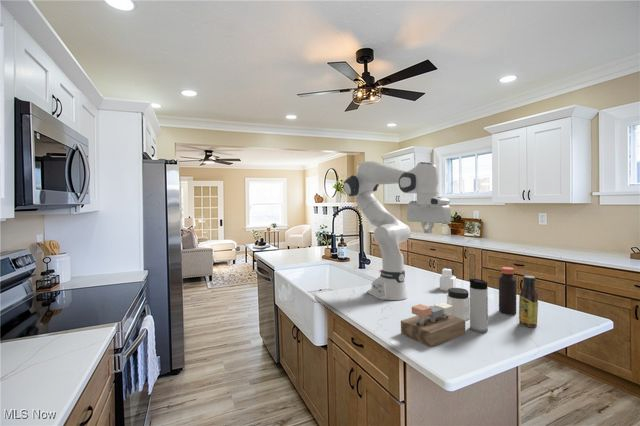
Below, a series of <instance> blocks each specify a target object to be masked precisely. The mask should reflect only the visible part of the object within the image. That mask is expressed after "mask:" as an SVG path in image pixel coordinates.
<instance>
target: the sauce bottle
mask: <svg viewBox="0 0 640 426" xmlns="http://www.w3.org/2000/svg"><path fill="white" fill-rule="evenodd" d="M522 278H523V279H522V280H523V286H522V288H521V291H520V293H519V296H518V297H519V298H518V299H519V301H518V304H519V305H518V322H519V324H520V325H521V326H524V327H526V328H536V327H537V326H538V311H539V310H538V309H539V308H538V307H539V301H538V300H539V294H538V292H537V290H536V287H535V285H536V283H535V282H536V277H535V276H533V275H527V274H526V275H523V276H522Z"/></svg>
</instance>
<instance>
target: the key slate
mask: <svg viewBox="0 0 640 426" xmlns="http://www.w3.org/2000/svg"><path fill="white" fill-rule="evenodd" d="M428 307H431V308H432V314H431V315H428V317H430V321H431V322H435V318H437V317H440V316H443V309H440V308H437V307H434V305H429V306H428Z"/></svg>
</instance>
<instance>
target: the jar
mask: <svg viewBox="0 0 640 426" xmlns="http://www.w3.org/2000/svg"><path fill="white" fill-rule="evenodd" d="M446 304H449V305H452V306H453V312H452V313H449V314H448V315H451V316H454V317H457V318H460V319H463V320H465V322H466V321H468V320H470V292H469V290H468V289H465V288H461V287H456V288H449V289H448V291H447V295H446Z"/></svg>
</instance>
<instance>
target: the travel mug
mask: <svg viewBox="0 0 640 426" xmlns="http://www.w3.org/2000/svg"><path fill="white" fill-rule="evenodd" d="M468 281H469V298H470V319H469V329H470V330H471V331H473V332H476V333H479V334H480V333H487V332H488V331H489V328H488V327H489V326H488V325H489V323H488V322H489V317H488V316H489V313H488V312H489V311H488V310H489V308H488V307H489V306H488V305H489V303H488V302H489V299H488V298H489V296H488V295H489V293H488V290H489V289H488V285H489V284H488V281H485V280H484V279H479V278H469V279H468Z"/></svg>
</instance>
